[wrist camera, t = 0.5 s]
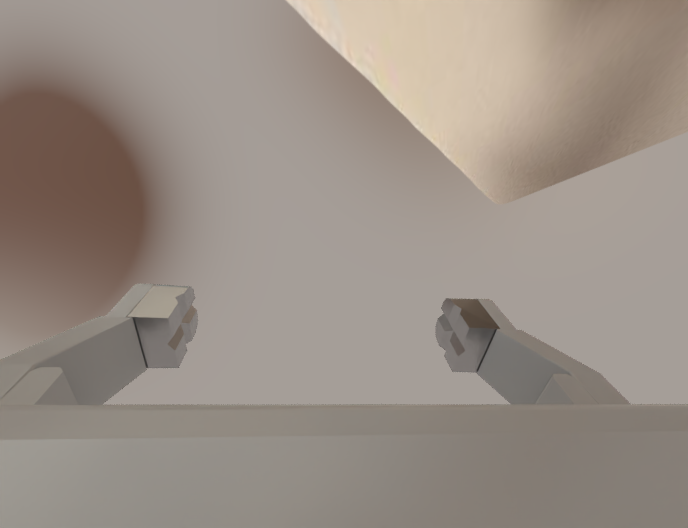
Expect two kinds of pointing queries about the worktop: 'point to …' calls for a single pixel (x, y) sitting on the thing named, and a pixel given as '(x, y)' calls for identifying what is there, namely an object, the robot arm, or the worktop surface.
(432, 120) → the worktop surface
